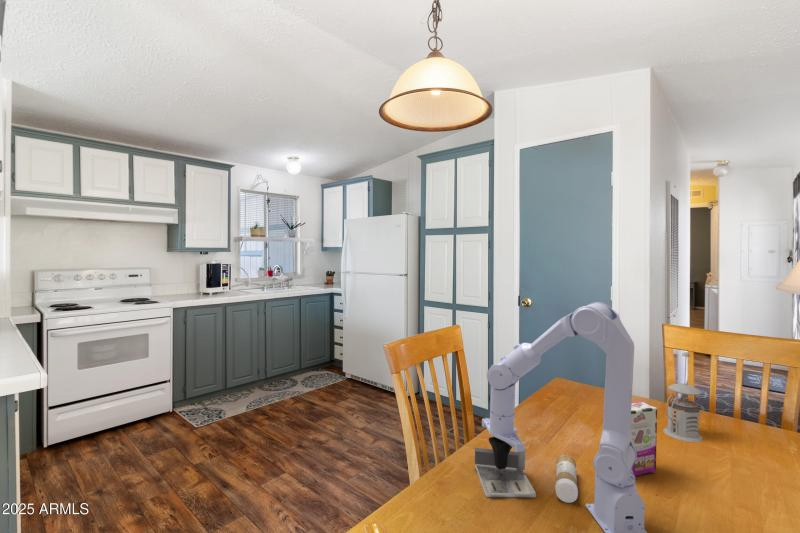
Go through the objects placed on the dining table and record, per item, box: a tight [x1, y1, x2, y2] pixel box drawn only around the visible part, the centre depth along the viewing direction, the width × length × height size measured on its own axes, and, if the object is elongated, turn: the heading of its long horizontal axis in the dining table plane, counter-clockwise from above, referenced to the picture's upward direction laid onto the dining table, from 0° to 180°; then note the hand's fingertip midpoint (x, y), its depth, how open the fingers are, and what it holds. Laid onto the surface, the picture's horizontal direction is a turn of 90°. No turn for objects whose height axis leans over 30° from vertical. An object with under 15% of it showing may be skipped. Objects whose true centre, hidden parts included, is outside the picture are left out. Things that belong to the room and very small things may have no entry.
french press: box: [662, 351, 704, 443], centre depth 120 cm, size 10×12×25 cm
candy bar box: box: [630, 401, 658, 477], centre depth 100 cm, size 11×5×16 cm, turn 105°
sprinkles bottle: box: [554, 454, 579, 504], centre depth 94 cm, size 5×5×14 cm
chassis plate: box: [475, 464, 537, 498], centre depth 95 cm, size 12×11×1 cm
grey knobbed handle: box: [474, 447, 527, 471], centre depth 100 cm, size 2×12×5 cm, turn 80°
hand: (500, 467), depth 98 cm, fingers closed, pressing on grey knobbed handle
